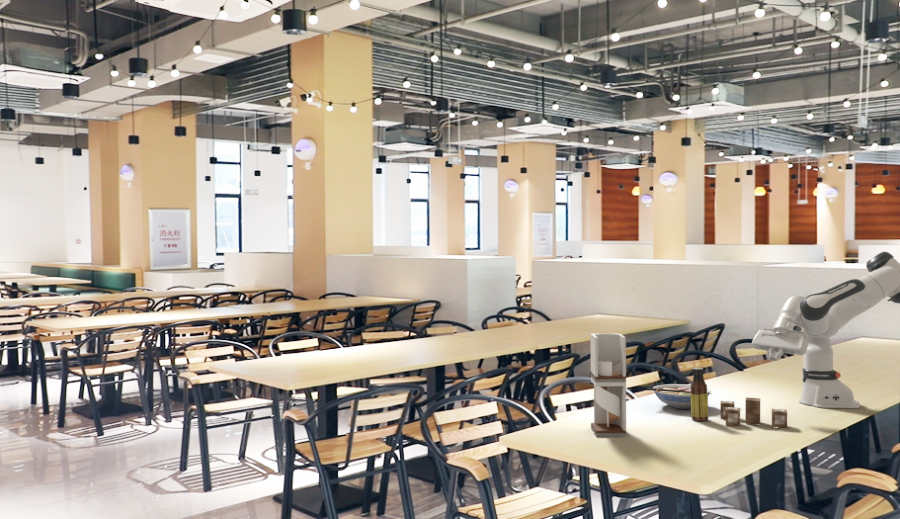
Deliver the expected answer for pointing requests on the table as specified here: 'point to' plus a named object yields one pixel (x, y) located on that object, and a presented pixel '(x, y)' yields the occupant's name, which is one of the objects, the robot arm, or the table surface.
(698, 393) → the sauce bottle
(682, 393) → the ramen bowl
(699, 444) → the table surface
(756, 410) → the plain block
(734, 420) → the white-paneled wooden block
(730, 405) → the white paneled block
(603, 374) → the spiral tower model
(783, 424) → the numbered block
